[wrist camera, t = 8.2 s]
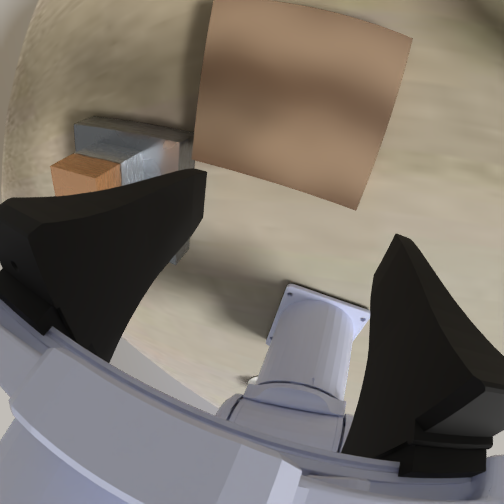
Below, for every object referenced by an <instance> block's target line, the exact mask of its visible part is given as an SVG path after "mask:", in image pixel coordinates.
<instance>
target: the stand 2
mask: <svg viewBox="0 0 504 504" xmlns="http://www.w3.org/2000/svg"><path fill="white" fill-rule="evenodd" d="M412 39H413V38H410V37H408V36H405V35H403V34H400V33H398V32H395V31H393V30H390V29H387V28H384V27H381V26H379V25H376V24H373V23H370V22H366V21H363V20H360V19H357V18H353V17H350V16H346V15H342V14H339V13H335V12H330V11H326V10H322V9H317V8H312V7H307V6H302V5H297V4H291V3H284V2H277V1H269V0H213V6H212V11H211V16H210V22H209V27H208V33H207V39H206V45H205V52H204V58H203V65H202V72H201V80H200V87H199V95H198V103H197V112H196V121H195V130H194V140H193V151H192V160H196V161H200V162H203V163H207V164H211V165H215V166H218V167H222V168H226V169H229V170H233V171H236V172H240V173H243V174H247V175H250V176H254V177H257V178H260V179H264V180H267V181H270V182H273V183H277V184H280V185H283V186H286V187H289V188H292V189H295V190H299V191H302V192H305V193H308V194H311V195H314V196H316V197H319V198H322V199H325V200H328V201H331V202H334V203H337V204H339V205H342V206H345V207H348V208H350V209H353V210H356V209H357V207H358V204H359V202H360V199H361V197H362V194H363V192H364V189H365V187H366V184H367V181H368V179H369V176H370V174H371V171H372V168H373V166H374V163H375V160H376V157H377V155H378V152H379V149H380V146H381V143H382V140H383V137H384V134H385V132H386V129H387V126H388V123H389V119H390V116H391V113H392V110H393V107H394V104H395V101H396V97H397V94H398V91H399V87H400V84H401V80H402V77H403V73H404V70H405V66H406V63H407V59H408V55H409V51H410V47H411V43H412Z"/></svg>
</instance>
